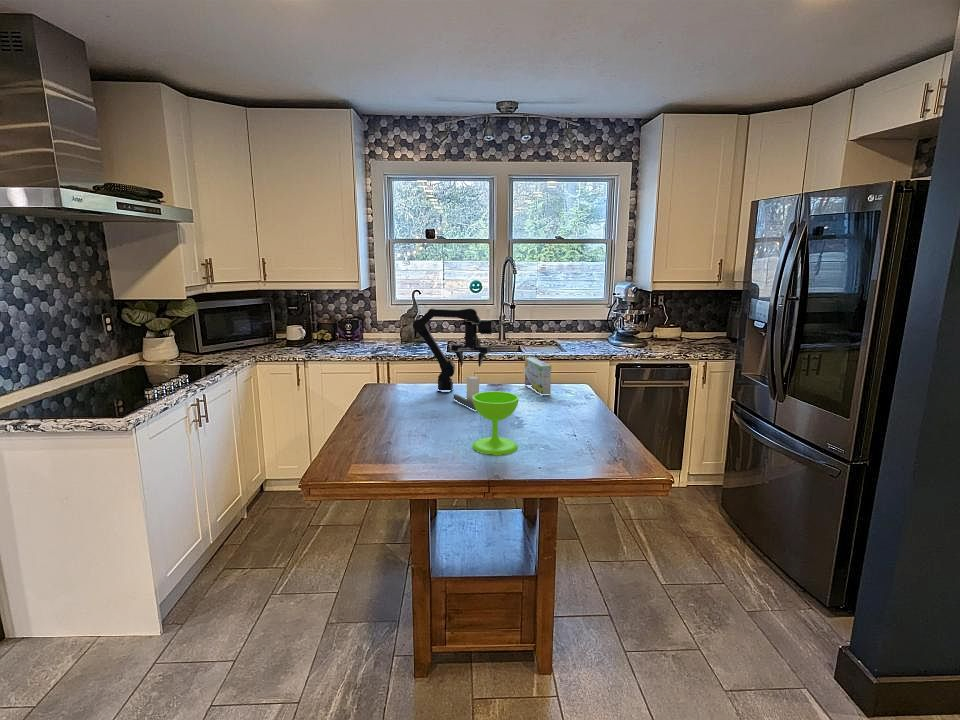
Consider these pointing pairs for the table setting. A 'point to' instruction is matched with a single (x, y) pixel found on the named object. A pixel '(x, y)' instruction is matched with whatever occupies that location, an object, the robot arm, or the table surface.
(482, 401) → the wineglass
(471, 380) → the cream rectangular block
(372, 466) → the table surface
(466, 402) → the bottom track
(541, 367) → the snack box
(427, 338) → the robot arm
